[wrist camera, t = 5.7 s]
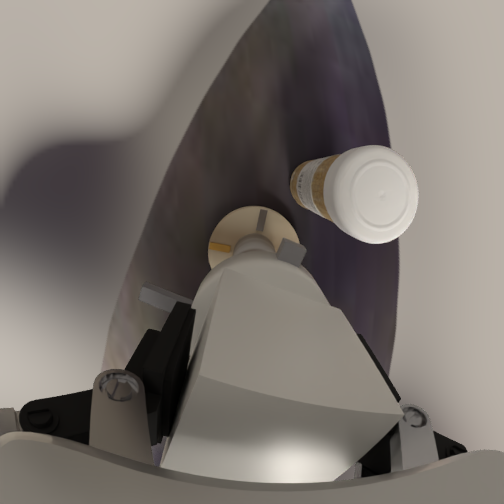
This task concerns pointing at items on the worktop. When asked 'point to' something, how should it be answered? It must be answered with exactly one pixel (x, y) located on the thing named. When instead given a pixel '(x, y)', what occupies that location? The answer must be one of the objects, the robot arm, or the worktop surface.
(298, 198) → the sprinkles bottle
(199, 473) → the coupling cap
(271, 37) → the worktop surface
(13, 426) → the robot arm
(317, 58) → the worktop surface
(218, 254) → the post base
